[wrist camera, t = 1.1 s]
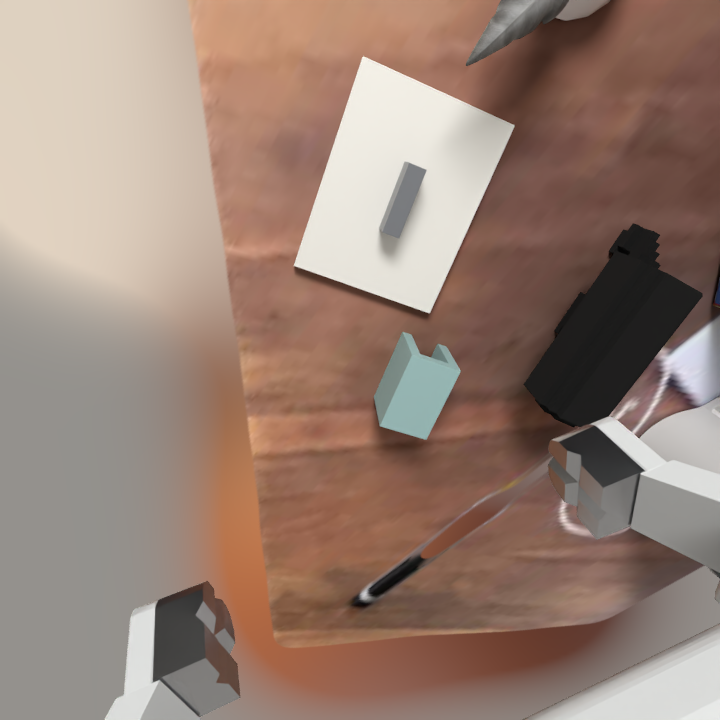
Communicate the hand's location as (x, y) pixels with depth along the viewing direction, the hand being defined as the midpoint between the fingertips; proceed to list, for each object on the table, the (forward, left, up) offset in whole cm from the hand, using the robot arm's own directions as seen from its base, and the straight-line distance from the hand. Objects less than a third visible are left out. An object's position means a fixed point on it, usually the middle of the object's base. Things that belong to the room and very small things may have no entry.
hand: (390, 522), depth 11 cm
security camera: (-26, -1, -39) cm, 47 cm away
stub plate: (-4, -5, -38) cm, 39 cm away
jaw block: (-12, +11, -38) cm, 42 cm away
